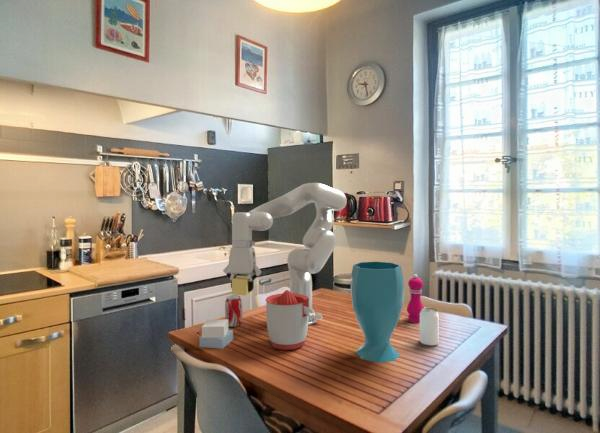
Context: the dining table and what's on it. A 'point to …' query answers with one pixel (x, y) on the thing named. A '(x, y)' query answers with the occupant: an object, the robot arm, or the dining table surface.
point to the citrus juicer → (287, 319)
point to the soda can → (233, 310)
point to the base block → (216, 341)
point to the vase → (377, 307)
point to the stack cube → (240, 285)
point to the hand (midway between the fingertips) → (242, 290)
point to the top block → (215, 328)
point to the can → (429, 326)
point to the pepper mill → (415, 299)
